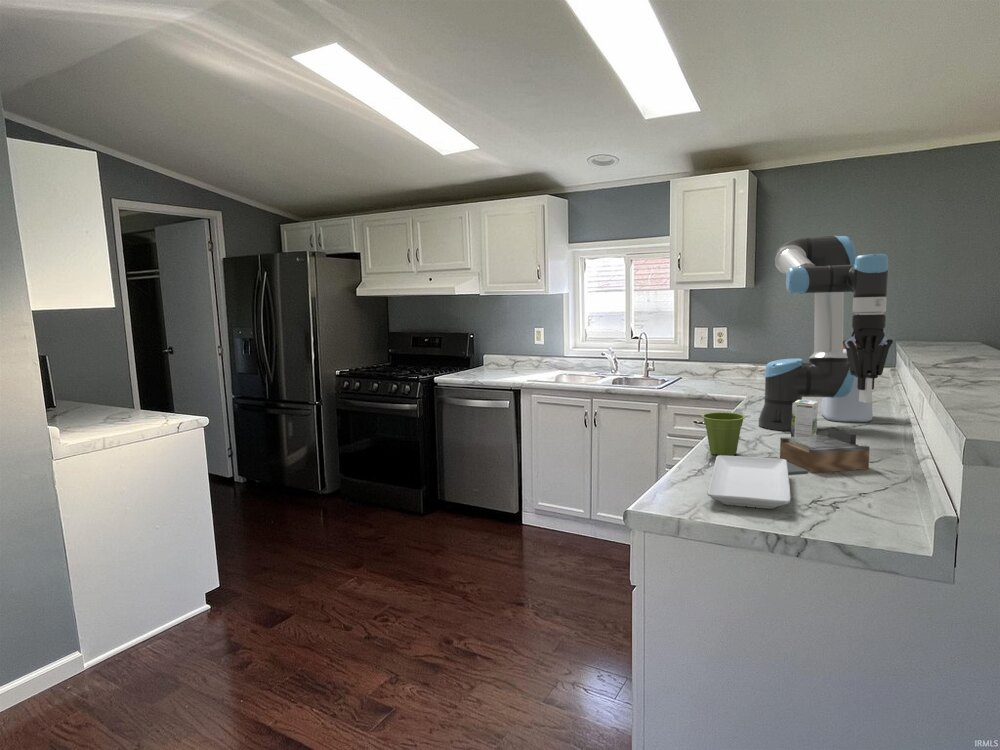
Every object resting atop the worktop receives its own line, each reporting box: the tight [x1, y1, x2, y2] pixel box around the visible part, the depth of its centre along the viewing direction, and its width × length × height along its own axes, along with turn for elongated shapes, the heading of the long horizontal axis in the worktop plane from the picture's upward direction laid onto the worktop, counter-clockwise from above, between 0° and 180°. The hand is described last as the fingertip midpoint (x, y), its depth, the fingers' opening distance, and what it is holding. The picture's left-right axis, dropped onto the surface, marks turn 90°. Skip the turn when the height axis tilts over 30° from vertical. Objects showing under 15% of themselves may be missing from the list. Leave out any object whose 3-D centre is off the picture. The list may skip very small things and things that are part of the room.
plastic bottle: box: [820, 345, 874, 423], centre depth 216 cm, size 15×15×28 cm
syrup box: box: [790, 399, 819, 437], centre depth 176 cm, size 6×6×14 cm
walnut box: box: [779, 434, 870, 474], centre depth 161 cm, size 16×14×6 cm
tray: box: [706, 455, 792, 510], centre depth 142 cm, size 17×32×4 cm, turn 156°
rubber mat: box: [764, 456, 808, 475], centre depth 160 cm, size 16×14×1 cm
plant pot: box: [701, 411, 746, 456], centre depth 174 cm, size 12×12×11 cm
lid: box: [787, 426, 859, 451], centre depth 161 cm, size 13×11×4 cm
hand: (865, 401), depth 161 cm, fingers closed
